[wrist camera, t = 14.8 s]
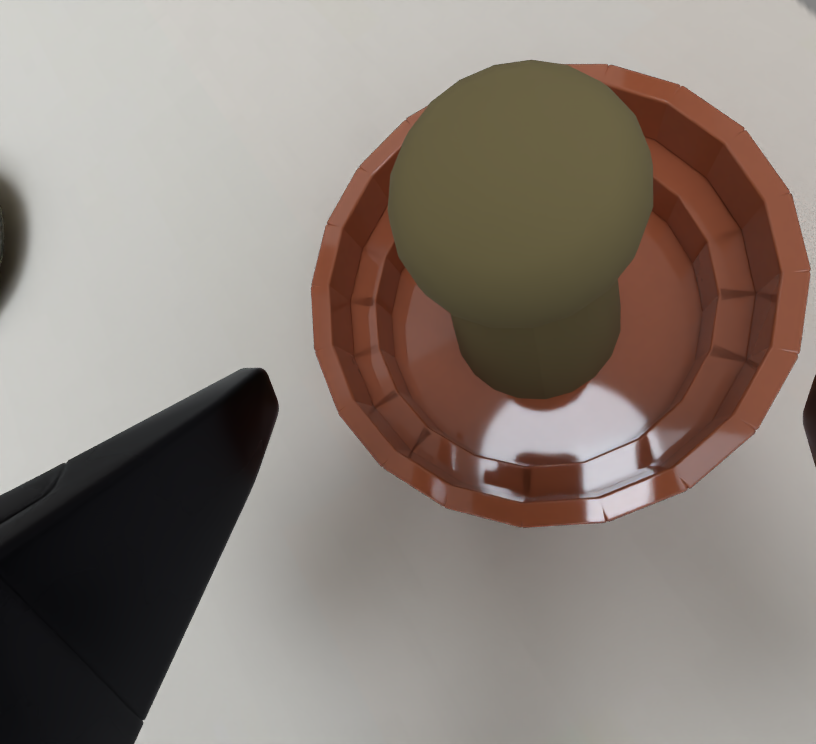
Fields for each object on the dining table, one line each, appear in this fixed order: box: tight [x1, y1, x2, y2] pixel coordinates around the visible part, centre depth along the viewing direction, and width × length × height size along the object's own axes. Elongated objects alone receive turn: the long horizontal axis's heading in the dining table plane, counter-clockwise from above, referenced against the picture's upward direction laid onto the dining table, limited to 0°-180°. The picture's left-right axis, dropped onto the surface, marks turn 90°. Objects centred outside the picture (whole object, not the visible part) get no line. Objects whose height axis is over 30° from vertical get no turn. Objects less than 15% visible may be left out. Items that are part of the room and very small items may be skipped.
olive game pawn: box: [388, 60, 653, 399], centre depth 14 cm, size 6×6×11 cm
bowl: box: [311, 64, 811, 528], centre depth 18 cm, size 14×14×4 cm
